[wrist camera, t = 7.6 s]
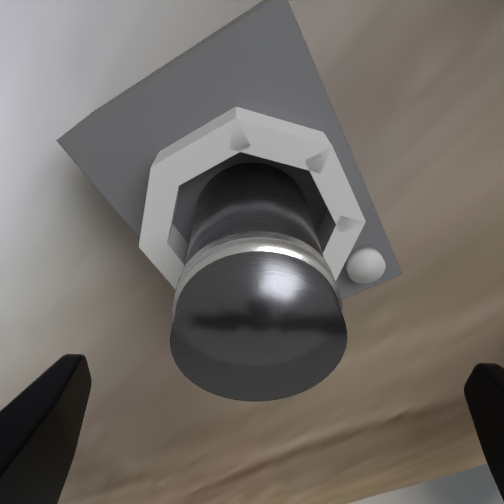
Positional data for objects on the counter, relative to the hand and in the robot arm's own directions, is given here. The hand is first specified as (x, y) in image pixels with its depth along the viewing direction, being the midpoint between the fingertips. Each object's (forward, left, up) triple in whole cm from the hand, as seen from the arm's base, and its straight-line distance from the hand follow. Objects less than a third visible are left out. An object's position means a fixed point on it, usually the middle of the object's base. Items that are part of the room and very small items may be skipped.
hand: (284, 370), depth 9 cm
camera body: (0, +1, -12) cm, 12 cm away
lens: (0, +1, -8) cm, 8 cm away
